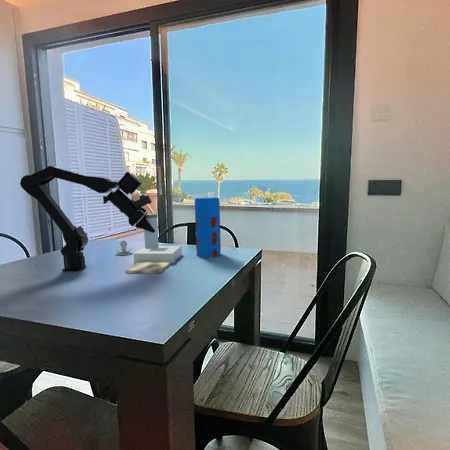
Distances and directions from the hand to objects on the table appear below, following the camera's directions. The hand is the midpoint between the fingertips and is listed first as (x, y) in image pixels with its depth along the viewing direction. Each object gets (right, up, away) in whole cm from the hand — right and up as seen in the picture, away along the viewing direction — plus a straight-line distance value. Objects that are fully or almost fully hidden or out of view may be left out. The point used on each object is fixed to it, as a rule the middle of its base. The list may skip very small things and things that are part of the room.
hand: (154, 230), depth 127 cm
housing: (-1, -12, +12) cm, 17 cm away
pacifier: (-19, -11, +23) cm, 32 cm away
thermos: (+20, -11, +18) cm, 29 cm away
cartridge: (-1, -7, +1) cm, 7 cm away
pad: (-1, -14, -4) cm, 15 cm away
